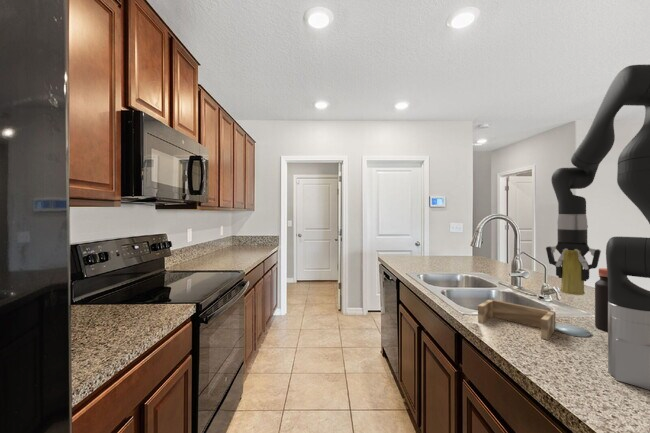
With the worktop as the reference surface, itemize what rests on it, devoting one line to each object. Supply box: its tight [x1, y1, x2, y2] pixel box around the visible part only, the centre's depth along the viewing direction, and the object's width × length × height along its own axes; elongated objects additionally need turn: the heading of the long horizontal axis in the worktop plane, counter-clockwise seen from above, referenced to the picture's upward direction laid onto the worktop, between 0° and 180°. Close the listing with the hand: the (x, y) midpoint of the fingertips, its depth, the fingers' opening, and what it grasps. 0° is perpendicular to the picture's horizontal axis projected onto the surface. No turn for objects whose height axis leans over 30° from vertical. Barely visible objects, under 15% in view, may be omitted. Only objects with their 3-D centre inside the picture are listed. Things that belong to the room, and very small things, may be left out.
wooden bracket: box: [477, 298, 556, 340], centre depth 101 cm, size 12×20×6 cm, turn 42°
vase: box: [560, 249, 586, 296], centre depth 96 cm, size 6×6×14 cm
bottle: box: [594, 267, 608, 333], centre depth 97 cm, size 7×7×20 cm
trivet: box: [555, 323, 591, 338], centre depth 96 cm, size 9×9×1 cm
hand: (572, 279), depth 96 cm, fingers closed on vase, 5 cm apart
